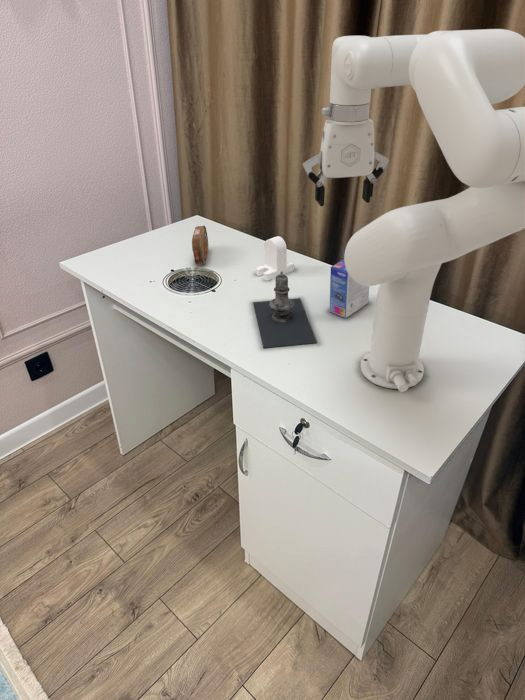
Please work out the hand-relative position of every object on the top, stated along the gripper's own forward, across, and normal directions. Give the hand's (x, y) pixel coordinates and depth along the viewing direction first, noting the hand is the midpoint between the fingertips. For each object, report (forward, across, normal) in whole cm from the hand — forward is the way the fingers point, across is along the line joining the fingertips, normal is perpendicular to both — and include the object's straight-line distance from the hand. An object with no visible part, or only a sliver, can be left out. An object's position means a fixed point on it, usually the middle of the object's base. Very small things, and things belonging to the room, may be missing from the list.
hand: (343, 202), depth 106 cm
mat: (+28, -13, 0) cm, 31 cm away
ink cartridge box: (+28, +4, +4) cm, 29 cm away
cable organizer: (+28, -10, +26) cm, 40 cm away
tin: (+28, -30, +40) cm, 57 cm away
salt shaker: (+28, -13, +2) cm, 31 cm away
